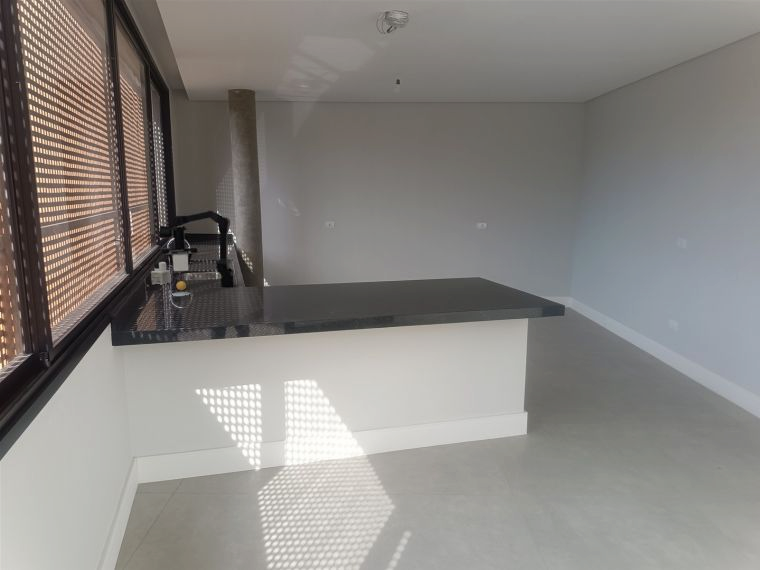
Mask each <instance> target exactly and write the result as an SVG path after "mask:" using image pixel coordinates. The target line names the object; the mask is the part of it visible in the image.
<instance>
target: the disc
mask: <svg viewBox="0 0 760 570" xmlns="http://www.w3.org/2000/svg"><path fill="white" fill-rule="evenodd" d="M171 294H172V295H173V296H172V295H171V296H172V297H185V295H186V296H189V294H190V295H191V292H190V291H189V292H186V291H182V292H181V291H177V292H172V293H171Z"/></svg>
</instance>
